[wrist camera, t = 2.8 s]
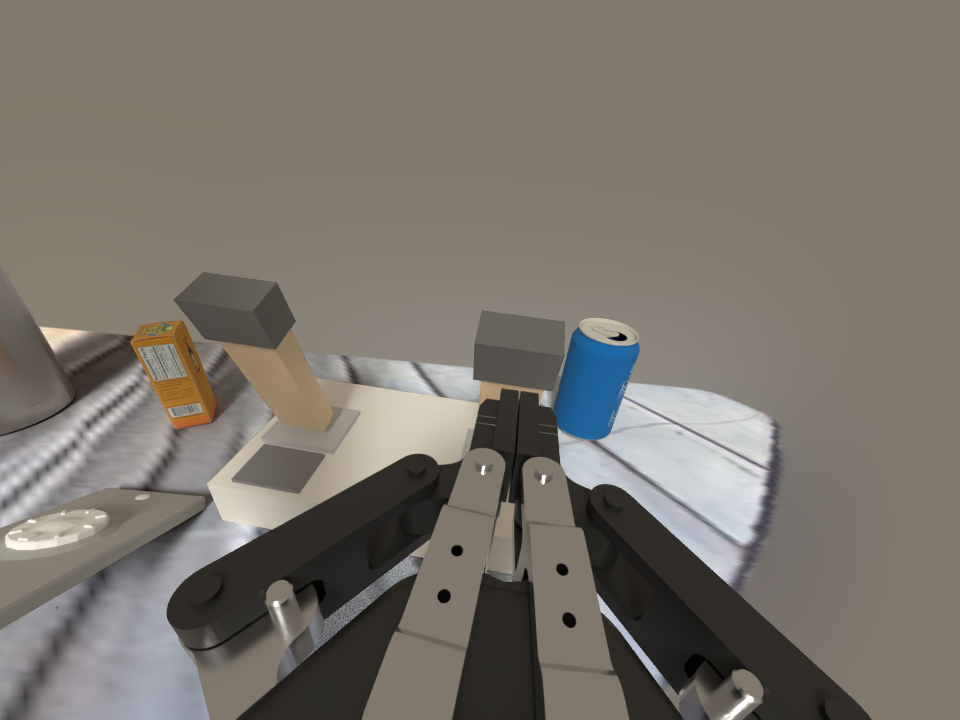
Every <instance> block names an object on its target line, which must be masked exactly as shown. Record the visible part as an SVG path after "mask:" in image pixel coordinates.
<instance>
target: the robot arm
mask: <svg viewBox="0 0 960 720" xmlns="http://www.w3.org/2000/svg"><path fill="white" fill-rule="evenodd" d="M75 393H76V390H75V389H74V387H73V385H72V383H71V382H70V380H69V378H68V376H67V375H66V373H65V371H64V369H63V368H62V366H61V364H60V363H59V361H58V359H57V357H56V355H55V353H54V352H53V350H52V348H51V347H50V345H49V343H48V341H47V340H46V338H45V336H44V335H43V333H42V331H41V329H40V328H39V326H38V324H37V323H36V321H35V319H34V318H33V316H32V314H31V312H30V311H29V309H28V307H27V306H26V304H25V302H24V300H23V299H22V297H21V295H20V294H19V292H18V290H17V288H16V287H15V285H14V284H13V282H12V280H11V278H10V276H9V275H8V273H7V271H6V270H5V268H4V266H3V265H2V263H1V261H0V435H2V434H6V433H9V432H13V431H16V430H19V429H22V428H24V427H27V426H30V425H33V424H35V423H37V422H39V421H42V420H44V419H46V418H48V417H50V416H51V415H53V414H55V413H57V412H58V411H60V410H61V409H63V408H64V407H66V406H67V405H68V404H69V403H70V402H71V401H72V400H73V398H74V397H75ZM518 401H519V402H518ZM509 483H510V485H509ZM508 488H509V497H508V503H514V515H513V520H512V562H513V582H503V581H501V580H499V579H496V578H494V577H492V576H490V575H488V574H486V573H487V567H488V562H489V557H490V552H491V547H492V542H493V537H494V532H495V527H496V522H497V518H498V517H499V514H500V509H501V503H502V502H506V500H507V494H508ZM429 540H430V542H429V545H428V548H427V550H426V553H425V556H424V559H423V561H422V564H421V567H420V570H419V572H418V573H417V574H415V575H412V576H409V577H407V578H405V579H403V580H401V581H399V582H398V583H396V584H395V585H393V586H392V587H390V588H389V589H388V590H387V591H385V592H384V593H383V594H382V595H381V596H380V597H378V598H377V599H376V600H375V601H374V602H373V603H371V604H370V605H369V606H368V607H367V608H366V609H364V610H363V611H362V612H361V613H360V614H358V615H357V616H356V617H355V618H354V619H353V620H351V621H350V622H349V623H348V624H347V625H346V626H344V627H343V628H342V629H341V630H340V631H339V632H337V633H336V634H335V635H334V636H333V637H331V638H330V639H329V640H328V641H327V642H326V643H324V644H323V645H322V646H321V647H320V648H319V649H317V650H316V651H315V652H314V653H313V654H312V655H310V656H309V657H308V658H307V659H306V660H304V659H305V658H306V657H307V656H308V655H309V654H310V653H311V651H312V650H313V649H314V648H315V646H316V645H317V643H318V641H319V639H320V637H321V634H322V631H323V620H325V619H326V618H327V617H329V616H330V615H331V614H333V613H334V612H335V611H337V610H338V609H339V608H340V607H342V606H343V605H344V604H346V603H347V602H348V601H350V600H351V599H352V598H354V597H355V596H356V595H358V594H359V593H360V592H362V591H363V590H364V589H365V588H367V587H368V586H369V585H371V584H372V583H373V582H375V581H376V580H377V579H379V578H380V577H381V576H383V575H384V574H385V573H386V572H388V571H389V570H390V569H392V568H393V567H394V566H396V565H397V564H398V563H400V562H401V561H402V560H404V559H405V558H406V557H407V556H409V555H410V554H411V553H413V552H414V551H415V550H417V549H418V548H419V547H421V546H422V545H423V544H425V543H426V542H427V541H429ZM596 592H597V593H598V594H599V596H600V597H601V598H602V600H603V601H604V602H605V603H606V605H607V606H608V607H609V608H610V610H611V611H612V612H613V613H614V615H615V616H616V617H617V619H618V620H619V621H620V622H621V624H622V625H623V626H624V627H625V629H626V630H627V631H628V632H629V634H630V635H631V636H632V637H633V639H634V640H635V641H636V643H637V644H638V645H639V646H640V648H641V649H642V650H643V651H644V653H645V654H646V655H647V656H648V658H649V659H650V660H651V661H652V663H653V664H654V665H655V667H656V668H657V669H658V670H659V672H660V673H661V674H662V675H663V677H664V678H665V679H666V680H667V682H668V683H669V684H670V686H671V687H672V688H673V689H674V691H675V692H676V693H677V694H678V696H679V710H680V713H679V712H678V710H677V709H676V707H675V706H674V705H673V703H672V702H671V701H670V699H669V698H668V697H667V695H666V694H665V693H664V691H663V690H662V688H661V687H660V686H659V684H658V683H657V682H656V680H655V679H654V678H653V676H652V675H651V673H650V672H649V671H648V669H647V668H646V667H645V665H644V664H643V663H642V661H641V660H640V659H639V657H638V656H637V654H636V653H635V652H634V650H633V649H632V648H631V646H630V645H629V644H628V642H627V641H626V640H625V638H624V637H623V635H622V634H621V633H620V632H619V630H618V629H617V628H616V627H615V626H614V624H613V623H612V622H611V621H610V620H609V619H608V618H607V617H606V616H605V615H604V614H602V613H601V612H600V607H599V602H598V598H597V593H596ZM167 619H168V621H169V623H170V624H171V626H172V627H173V629H174V630H175V632H176V633H177V635H178V637H179V642H180V643H181V645H182V647H183V648H184V650H185V651H186V652H187V654H188V655H189V657H190V658H191V660H192V661H193V662H194V664H195V665H196V667H197V668H198V672H199V676H200V680H201V684H202V688H203V692H204V696H205V700H206V704H207V708H208V712H209V716H210V720H871V718H870V717H869V716H868V714H867V713H866V712H865V711H864V710H863V709H862V707H861V706H860V705H859V704H858V703H857V702H856V701H855V700H854V699H852V698H851V697H850V696H849V695H848V694H847V693H846V692H845V691H844V690H843V689H842V688H840V687H839V686H838V685H837V684H836V683H835V682H834V681H833V680H832V679H831V678H830V677H828V676H827V675H826V674H825V673H824V672H823V671H822V670H821V669H819V667H817V666H816V665H815V664H814V663H813V662H812V661H811V660H810V659H809V658H808V657H807V656H805V655H804V654H803V653H802V652H801V651H800V650H799V649H798V648H797V647H796V646H795V645H793V644H792V643H791V642H790V641H789V640H788V639H787V638H786V637H785V636H784V635H783V634H781V633H780V632H779V631H778V630H777V629H776V628H775V627H774V626H773V625H771V624H770V623H769V622H768V621H767V620H766V619H765V618H764V617H763V616H762V615H761V614H760V613H758V612H757V611H756V610H755V609H754V608H753V607H752V606H751V605H750V604H749V603H748V602H746V601H745V600H744V599H743V598H742V597H741V596H740V595H739V594H738V593H737V592H736V591H734V590H733V589H732V588H731V587H730V586H729V585H728V584H727V583H726V582H725V581H723V580H722V579H721V578H720V577H719V576H718V575H717V574H716V573H715V572H714V571H713V570H711V569H710V568H709V567H708V566H707V565H706V564H705V563H704V562H703V561H702V560H701V559H699V558H698V557H697V556H696V555H695V554H694V553H693V552H692V551H691V550H690V549H688V548H687V547H686V546H685V545H684V544H683V543H682V542H681V541H680V540H679V539H678V538H676V537H675V536H674V535H673V534H672V533H671V532H670V531H669V530H668V529H667V528H666V527H664V526H663V525H662V524H661V523H660V522H659V521H658V520H657V519H656V518H655V517H653V516H652V515H651V514H650V513H649V512H648V511H647V510H646V509H645V508H644V507H643V506H641V505H640V504H639V503H638V502H637V501H636V500H635V499H634V498H633V497H632V496H631V495H629V494H628V493H627V492H626V491H624V490H623V489H621V488H619V487H617V486H614V485H609V484H602V485H598V486H596V487H594V488H593V489H592V490H590V489H588V488H585V487H583V486H581V485H578V484H576V483H575V482H573V481H572V480H570V479H569V478H568V477H567V476H566V475H565V472H564V470H563V468H562V467H561V465H560V455H559V442H558V429H557V417H556V415H555V414H554V412H553V411H552V409H551V408H549V407H543V406H539V393H533V392H526V391H520V396H519V390H512V389H505V388H501V394H500V400H494V399H486V400H485V401H484V402H483V403H482V404H481V405H480V406H479V411H478V416H477V420H476V424H475V428H474V433H473V437H472V441H471V446H470V450H469V452H468V453H467V454H466V455H465V457H464V458H463V459H462V460H460V461H458V462H455V463H452V464H444V465H438V463H437V462H436V460H435V459H434V458H432V457H431V456H429V455H426V454H411V455H407V456H405V457H403V458H402V459H400V460H398V461H396V462H394V463H392V464H391V465H389V466H387V467H385V468H383V469H382V470H380V471H378V472H376V473H374V474H372V475H371V476H369V477H367V478H365V479H363V480H362V481H360V482H358V483H356V484H354V485H352V486H351V487H349V488H347V489H345V490H343V491H342V492H340V493H338V494H336V495H334V496H332V497H331V498H329V499H327V500H325V501H323V502H322V503H320V504H318V505H316V506H314V507H312V508H311V509H309V510H307V511H305V512H303V513H302V514H300V515H298V516H296V517H294V518H292V519H291V520H289V521H287V522H285V523H283V524H282V525H280V526H278V527H276V528H274V529H272V530H271V531H269V532H267V533H265V534H263V535H262V536H260V537H258V538H256V539H254V540H252V541H251V542H249V543H247V544H245V545H243V546H242V547H240V548H238V549H236V550H234V551H232V552H231V553H229V554H227V555H225V556H223V557H221V558H220V559H218V560H216V561H214V562H212V563H211V564H209V565H207V566H205V567H203V568H201V569H200V570H198V571H196V572H195V573H193V574H192V575H191V576H189V577H188V578H187V579H186V580H185V581H183V582H182V584H181V585H180V586H179V587H178V588H177V589H176V591H175V592H174V593H173V595H172V597H171V599H170V601H169V603H168V607H167ZM303 660H304V661H303ZM302 661H303V662H302ZM301 662H302V663H301ZM300 663H301V664H300ZM299 664H300V665H299ZM298 665H299V666H298Z"/></svg>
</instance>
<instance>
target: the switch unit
mask: <svg viewBox="0 0 960 720" xmlns="http://www.w3.org/2000/svg"><path fill="white" fill-rule="evenodd" d="M316 380H317V382H318V384H319V385H320V387H321V389H322V391H323V393H324V395H325V397H326V399H327V401H328V403H329V405H330V407H331V409H332V410H333V412H334V414H333V416H332V418H331V420H330V422H329V424H328V426H327V428H326V430H325V432H323V431H317V430H311V429H305V428H299V427H293V426H286V425H282V424H281V422H280V421H279V420H278V418H277V417H276V416H274V417H273V418H272V419H271V420H270V421H269V422H268V423H267V424H266V425H265V426H264V427H263V428H262V429H261V430H260V431H259V432H258V433H257V434H256V435H255V436H254V437H253V438H252V439H251V440H250V441H249V442H248V443H247V444H246V445H245V446H244V447H243V448H242V449H241V450H240V451H239V452H238V453H237V454H236V455H235V456H234V457H233V458H232V459H231V460H230V461H229V462H228V463H227V464H226V465H225V466H224V467H223V468H222V469H221V470H220V471H219V472H218V473H217V474H216V475H215V476H214V477H213V478H212V479H211V480H210V481H209V482H208V483H207V485H208V487H209V490H210V492H211V494H212V497H213V499H214V501H215V504H216V506H217V508H218V511H219V513H220V515H221V518H222V520H225V521H230V522H235V523H241V524H246V525H251V526H257V527H262V528H267V529H274V528H276V527H278V526H280V525H282V524H283V523H285V522H287V521H289V520H291V519H292V518H294V517H296V516H298V515H300V514H302V513H303V512H305V511H307V510H309V509H311V508H312V507H314V506H316V505H318V504H320V503H322V502H323V501H325V500H327V499H329V498H331V497H332V496H334V495H336V494H338V493H340V492H342V491H343V490H345V489H347V488H349V487H351V486H352V485H354V484H356V483H358V482H360V481H362V480H363V479H365V478H367V477H369V476H371V475H372V474H374V473H376V472H378V471H380V470H382V469H383V468H385V467H387V466H389V465H391V464H392V463H394V462H396V461H398V460H400V459H402V458H403V457H405V456H407V455H411V454H426V455H429V456H431V457H432V458H434V459H435V460H436V462H437V463H438V465H444V464H452V463H455V462H458V461H460V460H462V459H463V458H464V457H465V455H466V454H467V453H468V452H469V450H470V446H471V441H472V437H473V433H474V428H475V424H476V420H477V416H478V411H479V403H474V402H468V401H462V400H455V399H449V398H442V397H436V396H429V395H423V394H417V393H410V392H404V391H397V390H391V389H384V388H378V387H372V386H365V385H359V384H352V383H346V382H339V381H333V380H327V379H320V378H316ZM509 485H510V483H509ZM508 497H509V488H508V494H507V500H506V502H502V503H501V509H500V514H499V517H498V518H497V522H496V527H495V532H494V537H493V542H492V547H491V552H490V557H489V562H488V567H487V570H490V571H495V572H501V573H506V574H511V575H513V562H512V520H513V515H514V503H508ZM429 542H430V540H429V541H427V542H426V543H425V544H423V545H422V546H421V547H419V548H418V549H417V550H415V551H414V552H413V553H411V554H410V556H416V557H421V558H424V556H425V553H426V550H427V548H428V545H429Z"/></svg>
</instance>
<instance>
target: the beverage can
mask: <svg viewBox="0 0 960 720" xmlns="http://www.w3.org/2000/svg"><path fill="white" fill-rule="evenodd" d="M638 339H639V335H638V333H637V332H636V331H635V330H634V329H632V328H631V327H629V326H627V325H625V324H622V323H620V322H617V321H613V320H609V319H603V318H590V319H585V320H582V321H581V322H580V324H579V327H578V328H577V329H576V330H575V331H574V332H573V334H572V337H571V342H570V346H569V350H568V354H567V358H566V362H565V366H564V370H563V374H562V378H561V382H560V386H559V390H558V394H557V398H556V402H555V406H554V410H553V412H554V414H555V415H556V417H557V426H558V427H559V428H560V429H561V430H563V431H564V432H565V433H566V434H568V435H569V436H571V437H573V438H576V439H579V440H585V441H591V440H599V439H603V438H605V437H606V436H608V435H609V433H610V432H611V429H612V426H613V423H614V421H615V418H616V415H617V412H618V410H619V407H620V404H621V401H622V398H623V396H624V393H625V390H626V387H627V385H628V382H629V379H630V376H631V373H632V371H633V368H634V365H635V362H636V360H637V357H638V354H639V344H638Z"/></svg>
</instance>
